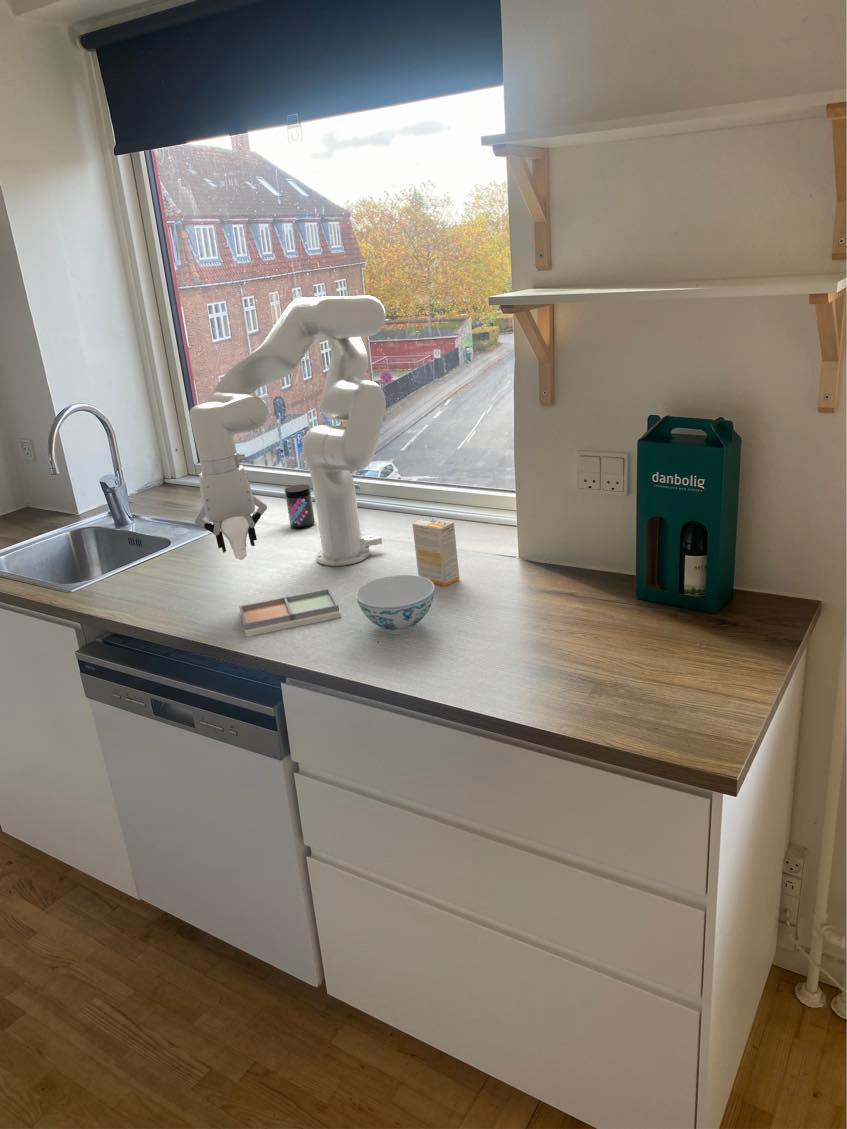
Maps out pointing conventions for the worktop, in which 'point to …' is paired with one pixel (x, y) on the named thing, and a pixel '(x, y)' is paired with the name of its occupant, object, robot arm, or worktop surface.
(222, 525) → the lightbulb
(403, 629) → the chinaware
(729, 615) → the worktop surface
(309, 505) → the supplement container
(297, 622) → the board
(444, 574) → the supplement box
